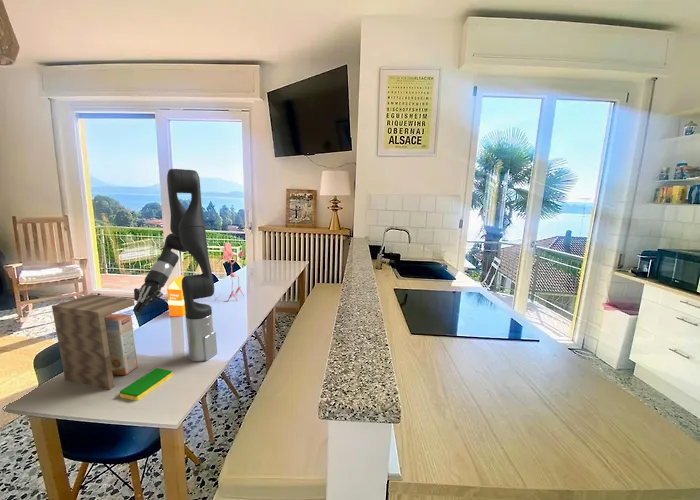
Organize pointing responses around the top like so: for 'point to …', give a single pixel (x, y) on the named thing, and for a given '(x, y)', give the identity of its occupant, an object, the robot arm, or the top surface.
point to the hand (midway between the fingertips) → (136, 312)
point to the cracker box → (121, 343)
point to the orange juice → (176, 297)
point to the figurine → (227, 256)
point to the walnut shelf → (86, 338)
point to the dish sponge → (145, 384)
